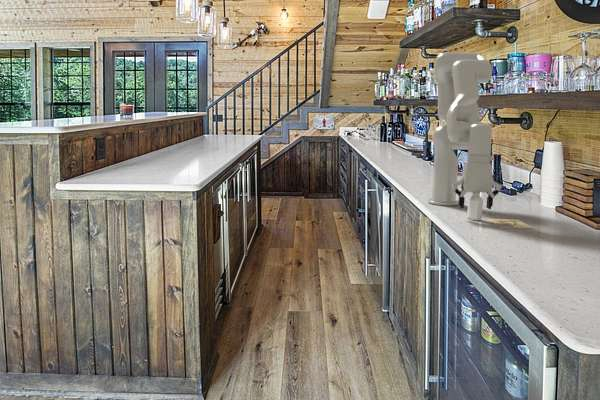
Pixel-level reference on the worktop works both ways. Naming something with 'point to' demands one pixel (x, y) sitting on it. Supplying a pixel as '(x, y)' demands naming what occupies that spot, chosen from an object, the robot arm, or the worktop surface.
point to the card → (509, 223)
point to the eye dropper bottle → (475, 207)
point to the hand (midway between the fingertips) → (475, 208)
